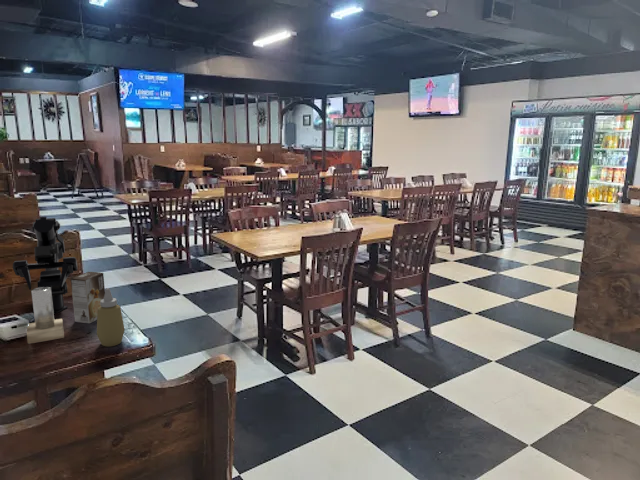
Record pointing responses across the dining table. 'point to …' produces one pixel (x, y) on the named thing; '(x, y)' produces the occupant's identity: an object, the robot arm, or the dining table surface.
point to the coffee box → (87, 295)
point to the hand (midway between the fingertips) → (45, 287)
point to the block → (45, 332)
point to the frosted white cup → (43, 307)
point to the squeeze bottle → (109, 321)
